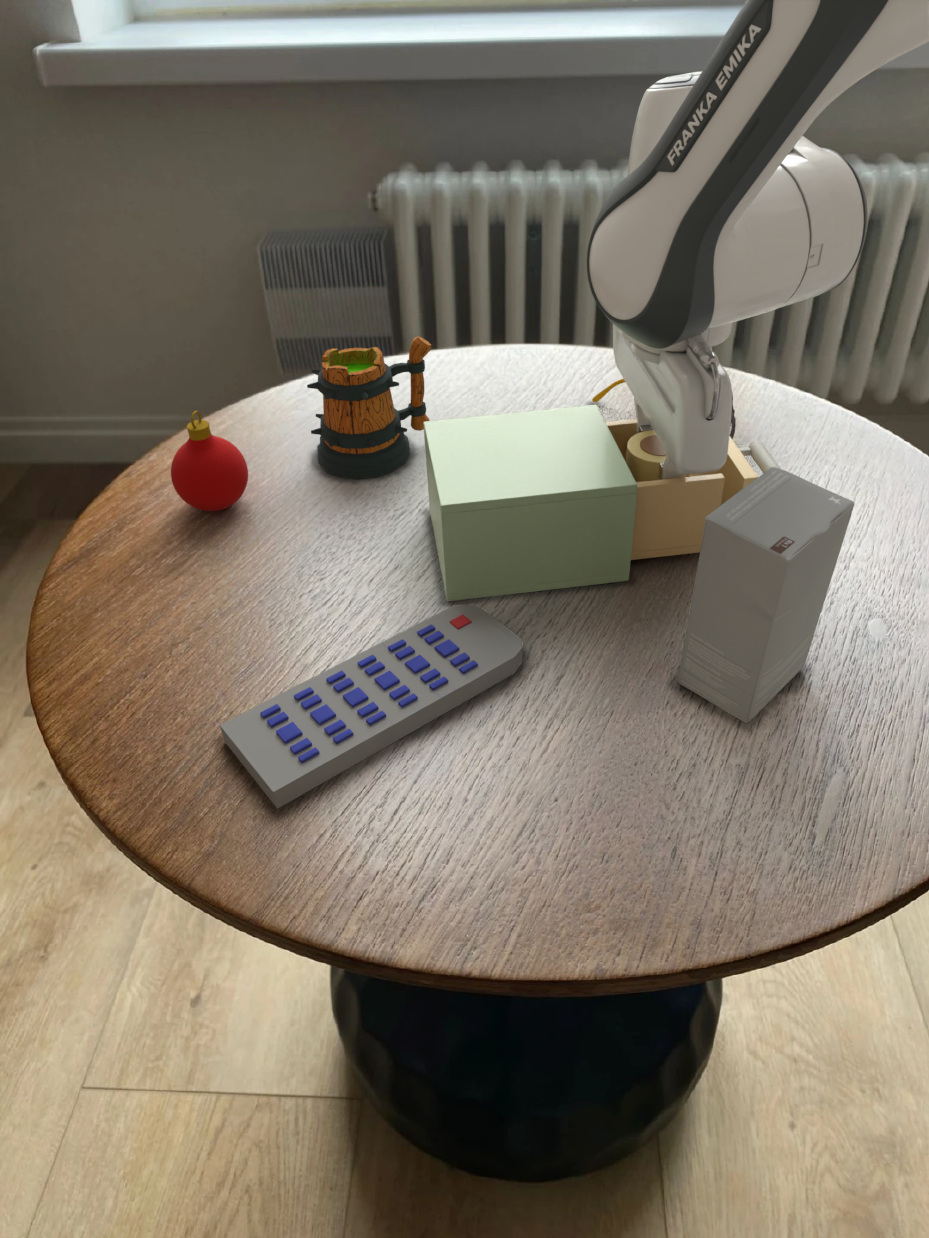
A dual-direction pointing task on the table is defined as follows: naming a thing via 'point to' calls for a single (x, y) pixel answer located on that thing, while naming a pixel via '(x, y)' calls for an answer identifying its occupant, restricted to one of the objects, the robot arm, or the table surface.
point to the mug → (366, 410)
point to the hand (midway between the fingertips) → (658, 463)
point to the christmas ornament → (208, 469)
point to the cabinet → (529, 502)
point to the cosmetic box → (760, 589)
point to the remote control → (371, 700)
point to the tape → (645, 456)
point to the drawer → (685, 498)
